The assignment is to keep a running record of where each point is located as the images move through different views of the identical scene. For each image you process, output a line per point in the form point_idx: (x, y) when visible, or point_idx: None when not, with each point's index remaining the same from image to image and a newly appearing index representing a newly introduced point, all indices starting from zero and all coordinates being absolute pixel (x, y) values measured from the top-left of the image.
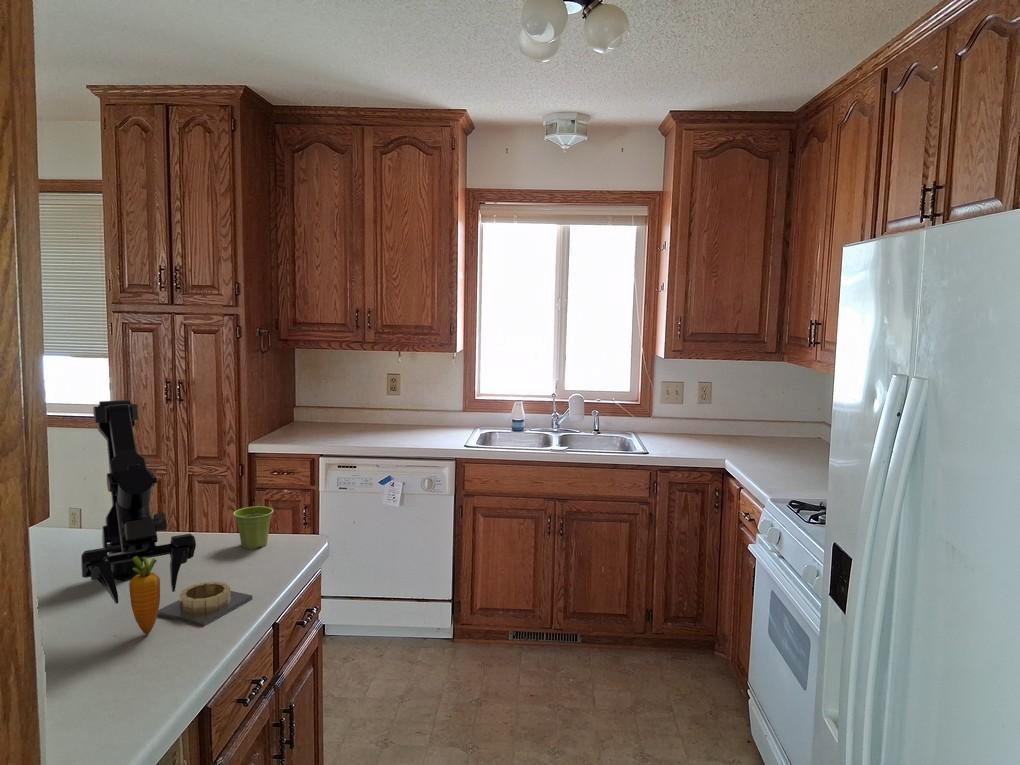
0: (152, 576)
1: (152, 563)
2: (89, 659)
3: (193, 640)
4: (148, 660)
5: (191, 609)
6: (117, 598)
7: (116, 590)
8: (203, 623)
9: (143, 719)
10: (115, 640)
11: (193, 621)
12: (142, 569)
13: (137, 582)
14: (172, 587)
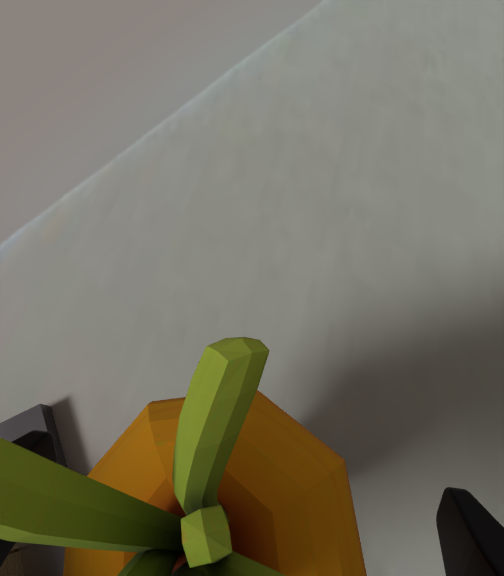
0: (136, 456)
1: (37, 456)
2: (492, 404)
3: (135, 309)
4: (302, 261)
5: (8, 560)
6: (460, 497)
7: (496, 567)
8: (44, 406)
9: (368, 22)
10: (384, 530)
11: (60, 463)
12: (220, 505)
13: (307, 442)
14: (40, 440)
